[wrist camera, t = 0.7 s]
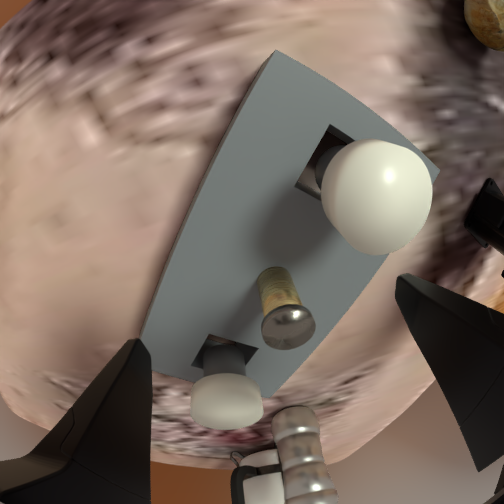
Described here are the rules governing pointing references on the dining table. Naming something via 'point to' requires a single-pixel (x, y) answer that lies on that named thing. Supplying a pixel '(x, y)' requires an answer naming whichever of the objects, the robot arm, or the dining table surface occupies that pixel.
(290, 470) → the plastic bottle
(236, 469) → the coffee press
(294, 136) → the mount
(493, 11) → the onion
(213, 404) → the knob
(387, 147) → the knob
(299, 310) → the metal screw
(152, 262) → the dining table surface
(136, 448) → the robot arm
